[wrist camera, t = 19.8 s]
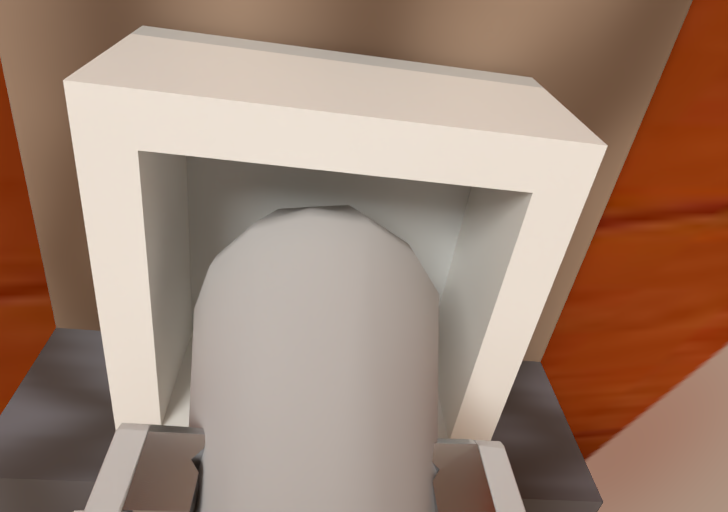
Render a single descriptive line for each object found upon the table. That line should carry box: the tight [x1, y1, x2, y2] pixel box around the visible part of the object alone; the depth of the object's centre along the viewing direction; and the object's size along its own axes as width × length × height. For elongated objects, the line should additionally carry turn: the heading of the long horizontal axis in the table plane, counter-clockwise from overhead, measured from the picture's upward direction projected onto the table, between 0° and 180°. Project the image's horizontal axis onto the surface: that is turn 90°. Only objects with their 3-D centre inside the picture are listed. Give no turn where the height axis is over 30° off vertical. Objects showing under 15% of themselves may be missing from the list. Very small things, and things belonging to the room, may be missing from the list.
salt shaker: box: [189, 205, 439, 512], centre depth 10 cm, size 6×6×13 cm
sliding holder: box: [63, 26, 608, 441], centre depth 15 cm, size 10×10×5 cm
